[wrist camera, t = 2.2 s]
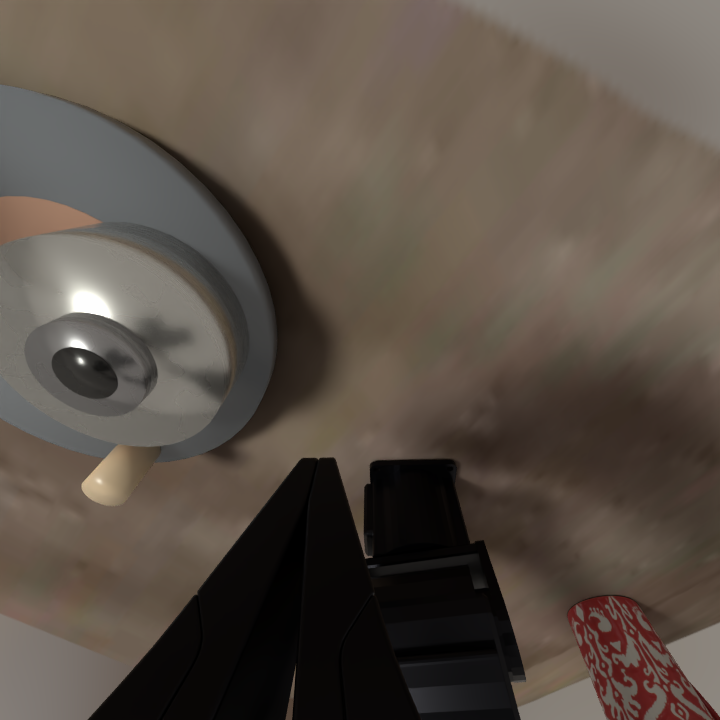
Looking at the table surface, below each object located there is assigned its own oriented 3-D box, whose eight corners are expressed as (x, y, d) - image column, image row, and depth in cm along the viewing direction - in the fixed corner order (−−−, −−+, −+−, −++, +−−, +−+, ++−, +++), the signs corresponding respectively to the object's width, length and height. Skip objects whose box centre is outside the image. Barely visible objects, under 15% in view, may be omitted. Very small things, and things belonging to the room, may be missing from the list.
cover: (220, 215, 14) (162, 233, 10) (266, 401, 19) (239, 461, 15) (0, 227, 14) (-138, 249, 10) (102, 405, 19) (34, 465, 16)
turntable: (228, 71, 13) (154, 20, 8) (300, 442, 23) (284, 507, 19) (-233, 106, 14) (-516, 77, 9) (31, 448, 24) (-45, 510, 19)
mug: (539, 618, 37) (617, 822, 26) (600, 582, 33) (726, 807, 21) (621, 641, 40) (725, 836, 28) (688, 610, 35) (843, 825, 24)
